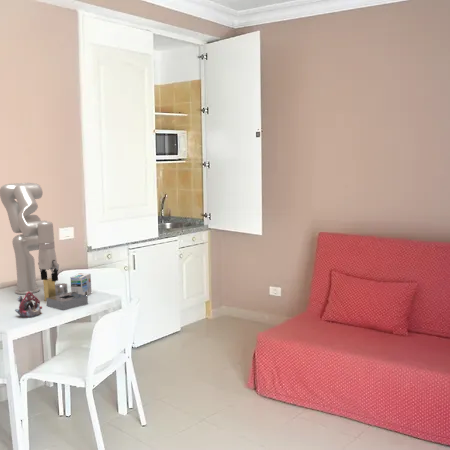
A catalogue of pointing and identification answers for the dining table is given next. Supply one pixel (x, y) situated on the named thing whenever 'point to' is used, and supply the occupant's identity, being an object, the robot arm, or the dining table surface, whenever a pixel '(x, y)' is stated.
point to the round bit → (61, 289)
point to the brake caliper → (28, 306)
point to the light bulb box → (81, 284)
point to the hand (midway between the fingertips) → (49, 280)
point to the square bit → (49, 288)
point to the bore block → (67, 301)
